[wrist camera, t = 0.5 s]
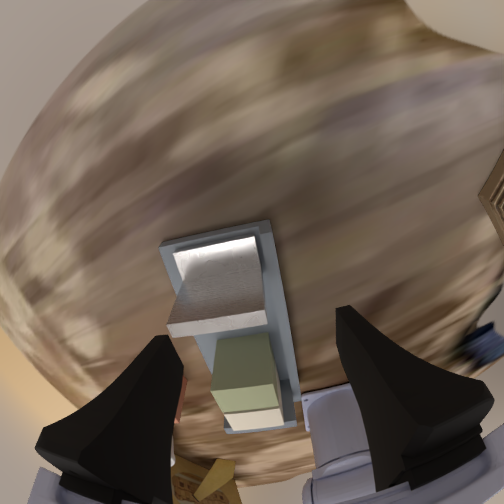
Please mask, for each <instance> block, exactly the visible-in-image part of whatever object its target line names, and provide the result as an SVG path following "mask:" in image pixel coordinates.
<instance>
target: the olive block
mask: <svg viewBox="0 0 504 504" xmlns="http://www.w3.org/2000/svg"><path fill="white" fill-rule="evenodd" d="M211 393H212V395H213V396H214V398H215V400H216V402H217V404H218V405H219V407H220V409H221V410H222V412H231V411H242V410H251V409H260V408H267V407H274V406H279V401H278V391H277V381H276V371H275V361H274V354H273V350H272V346H271V342H270V337H269V333H268V332H266V333H260V334H254V335H248V336H242V337H235V338H228V339H221V340H217V342H216V350H215V358H214V366H213V374H212V382H211Z"/></svg>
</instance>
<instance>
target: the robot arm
mask: <svg viewBox="0 0 504 504" xmlns="http://www.w3.org/2000/svg"><path fill="white" fill-rule="evenodd" d="M336 344H337V348H338V352H339V356H340V359H341V363H342V365H343V368H344V370H345V373H346V375H347V378H348V380H349V383H348V384H344V385H340V386H336V387H332V388H327V389H323V390H318V391H313V392H309V393H304V394H302V395H301V398H302V407H303V413H304V420H305V427H306V431H310V434H311V440H312V446H313V452H314V459H315V465H316V469H315V470H312V476H313V477H312V478H309V479H308V480H307V481H306V483H305V485H304V487H303V491H302V500H303V504H484V503H485V502H486V501H488V500H489V499H490V498H491V497H493V496H494V495H495V494H497V493H498V492H499V491H501V490H502V489H503V488H504V423H503V424H502V425H501V426H500V427H498V428H497V429H495V430H494V431H492V432H491V433H490V434H488V435H487V436H486V437H484V438H483V439H482V437H481V436H480V433H481V432H482V428H481V426H480V423H481V421H482V420H483V419H484V418H485V416H486V415H487V414H488V412H489V411H490V409H491V408H492V406H493V404H494V398H493V396H492V394H491V393H490V391H489V389H488V388H487V386H486V385H485V384H484V382H483V381H481V380H476V379H473V378H469V377H465V376H461V375H458V374H455V373H452V372H449V371H446V370H444V369H441V368H439V367H437V366H435V365H432V364H430V363H428V362H426V361H424V360H422V359H420V358H418V357H416V356H415V355H413V354H411V353H410V352H408V351H406V350H405V349H403V348H402V347H400V346H399V345H397V344H396V343H394V342H393V341H392V340H390V339H389V338H388V337H386V336H385V335H384V334H382V333H381V332H380V331H379V330H378V329H376V328H375V327H374V326H373V325H372V324H370V323H369V322H368V321H367V320H366V319H365V318H364V317H362V316H361V315H360V314H359V313H358V312H357V311H356V310H355V309H354V308H353V307H352V306H350V305H348V306H343V307H339V308H336ZM183 368H184V366H183V364H182V362H181V360H180V358H179V356H178V354H177V352H176V350H175V348H174V346H173V344H172V342H171V340H170V338H169V336H168V335H158V336H155V337H154V338H153V339H152V340H151V341H150V342H149V343H148V345H147V346H146V347H145V348H144V349H143V350H142V351H141V353H140V354H139V355H138V356H137V357H136V358H135V359H134V361H133V362H132V363H131V364H130V365H129V366H128V367H127V368H126V369H125V370H124V371H123V372H122V374H121V375H120V376H119V377H118V378H117V379H116V380H115V381H114V382H113V383H112V384H111V385H110V386H109V387H107V388H106V389H105V390H104V391H103V392H102V393H100V394H99V395H98V396H97V397H96V398H94V399H93V400H92V401H90V402H89V403H87V404H86V405H85V406H83V407H82V408H80V409H79V410H77V411H76V412H74V413H72V414H71V415H69V416H67V417H65V418H63V419H61V420H59V421H57V422H55V423H53V424H51V425H48V426H46V427H44V428H43V429H42V432H41V434H40V436H39V439H38V441H37V443H36V446H35V450H36V451H37V453H38V454H39V455H41V456H42V457H43V458H44V459H45V460H47V461H48V462H49V463H51V464H52V465H53V466H55V467H56V468H58V469H59V470H61V471H62V472H63V473H62V476H59V475H58V474H56V473H54V472H51V471H49V470H47V469H45V468H43V467H40V468H39V471H38V473H37V476H36V479H35V482H34V485H33V488H32V491H31V494H30V497H29V500H28V503H27V504H173V497H172V486H171V445H172V433H173V426H174V421H175V417H176V412H177V407H178V403H179V398H180V393H181V389H182V382H183Z"/></svg>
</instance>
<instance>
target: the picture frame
mask: <svg viewBox="0 0 504 504" xmlns="http://www.w3.org/2000/svg"><path fill="white" fill-rule="evenodd" d="M174 455H175V454H174ZM235 462H236V461H230V460H224V459H216V461H215V463H214V464H213V466H212V467H211V469H210V470H207V469H205V468H203V467H201V466H198V465H196V464H194V463H192V462H190V461H188V460H186V459H183V458H181V457H179V456H177V455H175V464H174V465H173V466H171V486H172V497H173V504H242V502H241V499H240V496H239V492H238V490H237V486H236V483H235V480H233V479H232V478H233V476H234V469H235Z"/></svg>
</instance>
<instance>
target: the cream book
mask: <svg viewBox="0 0 504 504" xmlns="http://www.w3.org/2000/svg"><path fill="white" fill-rule="evenodd" d="M274 361H275V359H274ZM275 371H276V381H277V391H278V401H279V406H274V407H267V408H260V409H251V410H242V411H231V412H224V416H225V417H226V419H227V421H228V422H229V424H230V426H231V427H232V429H233V431H239V430H250V429H260V428H268V427H276V426H282V425H284V416H283V407H282V398H281V389H280V380H279V375H278V371H277V367H276V362H275Z"/></svg>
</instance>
